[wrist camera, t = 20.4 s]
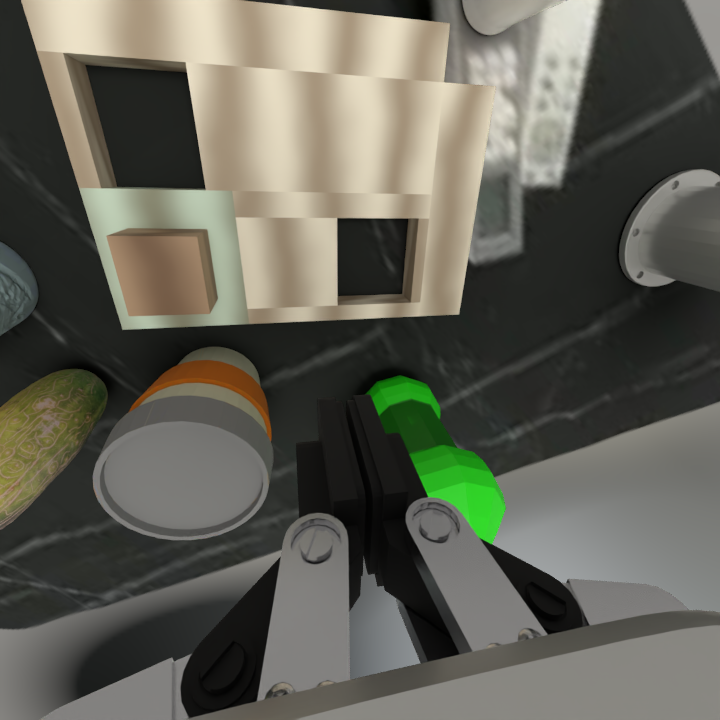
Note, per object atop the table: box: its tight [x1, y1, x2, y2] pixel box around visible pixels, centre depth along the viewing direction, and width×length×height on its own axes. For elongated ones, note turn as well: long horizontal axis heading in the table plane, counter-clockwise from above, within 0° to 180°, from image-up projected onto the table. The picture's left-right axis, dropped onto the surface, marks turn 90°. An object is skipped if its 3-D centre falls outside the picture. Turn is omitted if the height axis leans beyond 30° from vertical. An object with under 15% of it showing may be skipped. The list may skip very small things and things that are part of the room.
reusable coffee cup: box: [93, 347, 273, 540], centre depth 33 cm, size 13×12×15 cm
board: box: [21, 0, 496, 330], centre depth 31 cm, size 32×23×3 cm
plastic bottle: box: [365, 375, 506, 544], centre depth 34 cm, size 10×10×25 cm
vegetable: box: [0, 369, 108, 530], centre depth 28 cm, size 6×6×20 cm
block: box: [106, 228, 218, 316], centre depth 29 cm, size 6×6×4 cm
